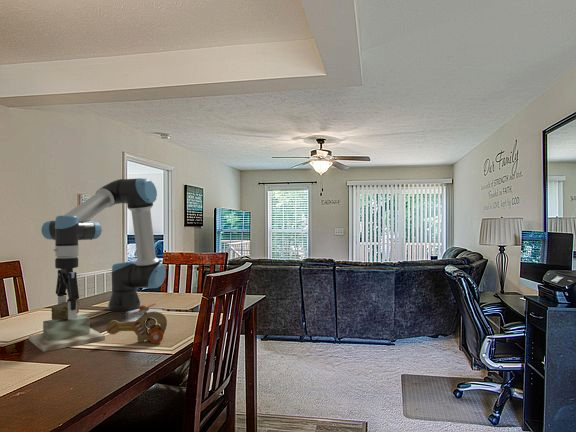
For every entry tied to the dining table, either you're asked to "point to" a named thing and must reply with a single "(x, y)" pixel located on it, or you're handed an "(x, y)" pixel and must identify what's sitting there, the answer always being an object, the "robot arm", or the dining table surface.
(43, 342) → the tower base
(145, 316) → the toy helicopter
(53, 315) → the stone block
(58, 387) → the dining table surface
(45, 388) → the dining table surface
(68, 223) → the robot arm
